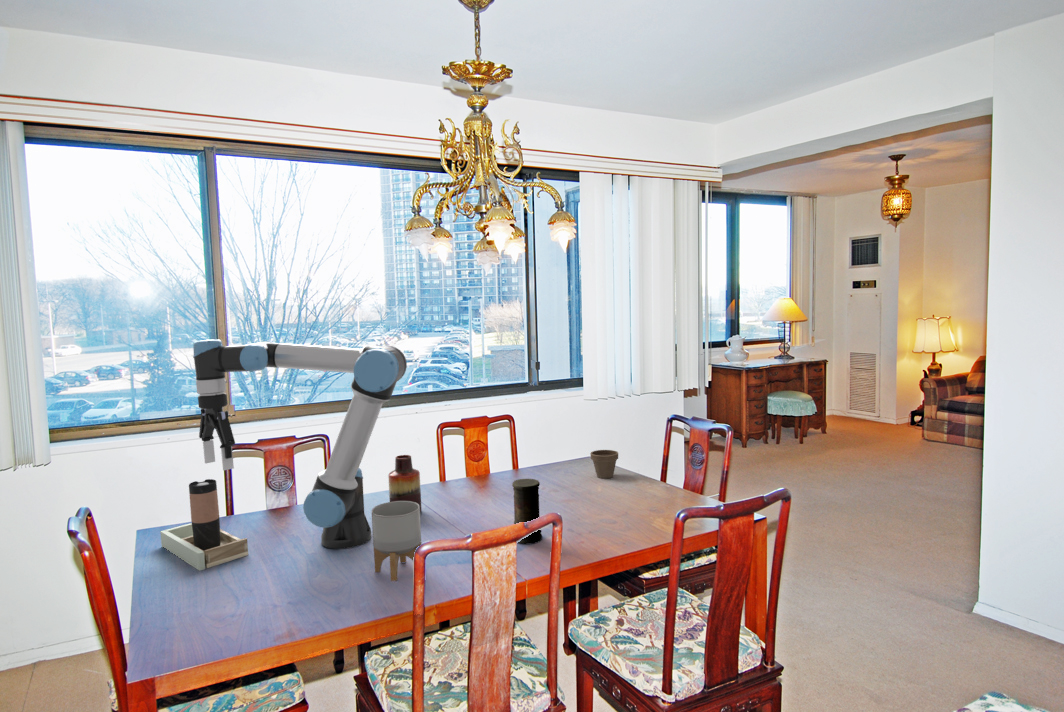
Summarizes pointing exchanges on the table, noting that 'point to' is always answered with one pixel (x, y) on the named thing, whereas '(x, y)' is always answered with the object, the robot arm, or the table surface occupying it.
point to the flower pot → (604, 462)
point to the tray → (223, 549)
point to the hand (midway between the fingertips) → (219, 465)
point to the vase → (404, 481)
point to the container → (526, 505)
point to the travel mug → (205, 514)
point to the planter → (395, 533)
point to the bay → (183, 545)
